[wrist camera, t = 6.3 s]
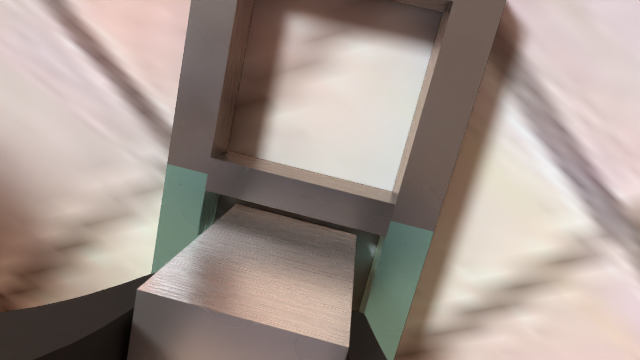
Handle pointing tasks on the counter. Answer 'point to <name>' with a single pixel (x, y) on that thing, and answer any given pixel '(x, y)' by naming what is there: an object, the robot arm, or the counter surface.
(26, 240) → the counter surface
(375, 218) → the grey teal tray
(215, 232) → the beige rectangular block
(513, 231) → the counter surface
